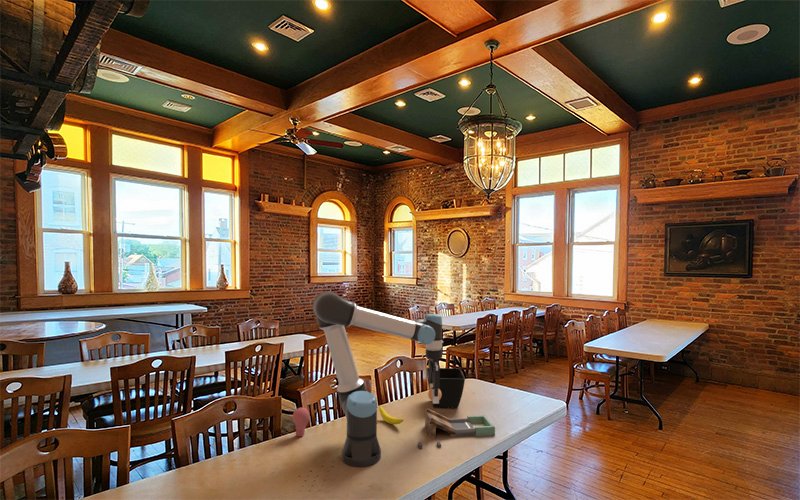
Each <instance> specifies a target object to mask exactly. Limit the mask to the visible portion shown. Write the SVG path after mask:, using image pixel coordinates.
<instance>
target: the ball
mask: <svg viewBox="0 0 800 500" xmlns="http://www.w3.org/2000/svg"><path fill="white" fill-rule="evenodd" d="M427 395H428V398H429V400H430V401H431V402H432V401H433V389H432V388H431V389H430V390H429V391H428V393H427ZM441 396H442V394H441V391H440V389H439V400H440V399H441Z"/></svg>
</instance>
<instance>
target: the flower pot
mask: <svg viewBox="0 0 800 500" xmlns="http://www.w3.org/2000/svg"><path fill="white" fill-rule="evenodd" d="M425 371H426V377H427V382H428V389H429V390H430V384H431V383H430V382H429V381H430V380H429V367H427V368H426V370H425ZM465 381H466V378H465V376H464V374H463V372H462V370H461V368H459V367H458V368H453V367H448V368H447V367H440V391H441V394H442V396H441V399H440V400H439V403H437V404H433V401H432V400H431V404H432V407H433V408H434V409H458V408H459V406H460V404H461V400H462V396H463V392H464V389H465V388H464V386H465Z"/></svg>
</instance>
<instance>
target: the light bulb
mask: <svg viewBox="0 0 800 500" xmlns="http://www.w3.org/2000/svg"><path fill="white" fill-rule="evenodd" d="M309 419H310V412H309V410H308V409H307V408H306V407H298V408H297V409H295V411H294V412H293V414H292V421H293V424H294V425H295V436H296V437H304V435H305V429H306V426H307V424H308V422H309Z"/></svg>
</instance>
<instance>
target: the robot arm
mask: <svg viewBox="0 0 800 500" xmlns="http://www.w3.org/2000/svg"><path fill="white" fill-rule="evenodd" d="M312 311H313V313H314V315H315V319H316V322H317V325H318V327H319V329H320V330H322V331H323V332H324V336H325V339H326V343H327V347H328V349H329V350H328V351H329V354H330V357H331V360H332V364H333V366H334V367H333V368H334V370H335V374H336V378H337V382H338V386H337V388H336V391H337V395H338V397H339V398H338V400H339V405H340V407H341V409H342V410H343V413H344V415H345V418H346V438H345V441H344V444H343V447H342V450H341V460H342V461H343V463H344V464H346V465H348V466H351V467H360V468H361V467H362V468H363V467H368V466H372V465H374V464H376V463H378V462H380V460H381V458H382V449H381V446H380V443H379V439H378V435H377V433H378V431H377V427H378V426H377V423H378V420H377V419H378V402H377V401H378V400H377V397H376V395H375V394H373V393H372V392H369V391H367V388H366V384H365V382H364V379H362V378H361V377H359V373H358V369H357V366H356V362H355V359H354V356H353V352H352V348H351V345H350V340H349V339H348V338H349V337H348V334H347V331H346V328H345V327H347V328H348V327H350V326H356V327H359V328H363V329H368V330H371V331H375V332H380V333H382V334H383V333H384V334H387V335H391V336H395V337H399V338H402V339H408V340H409V341H410V340H411V341H415V342H419V343H420V344H423V345H425V358H427V359H428V368H429V380H430V381H429V382H430V383H431V384H430V389H431V388H432V389H433V404H437V403H439V389H440V368H441V366H440V362H439V360H440V359H442V358H443V344H444V340H443V317H442V315H441V314H438V313H427V314H425V317H424V318H423V319H407V318H403V317H399V316H395V315H392V314H388V313H384V312H380V311H377V310H374V309H370V308H366V307H362V306H359V305H357V303H356V302H354V301H350V300H348V299H346V298H343V297H341V296H340V295H338V294H336V293H335V292H333V291H329V290H328V291H323V292H320V293H318V294H317V295H316V297H315V298H314V299H313V302H312ZM433 404H432V405H433Z"/></svg>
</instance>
